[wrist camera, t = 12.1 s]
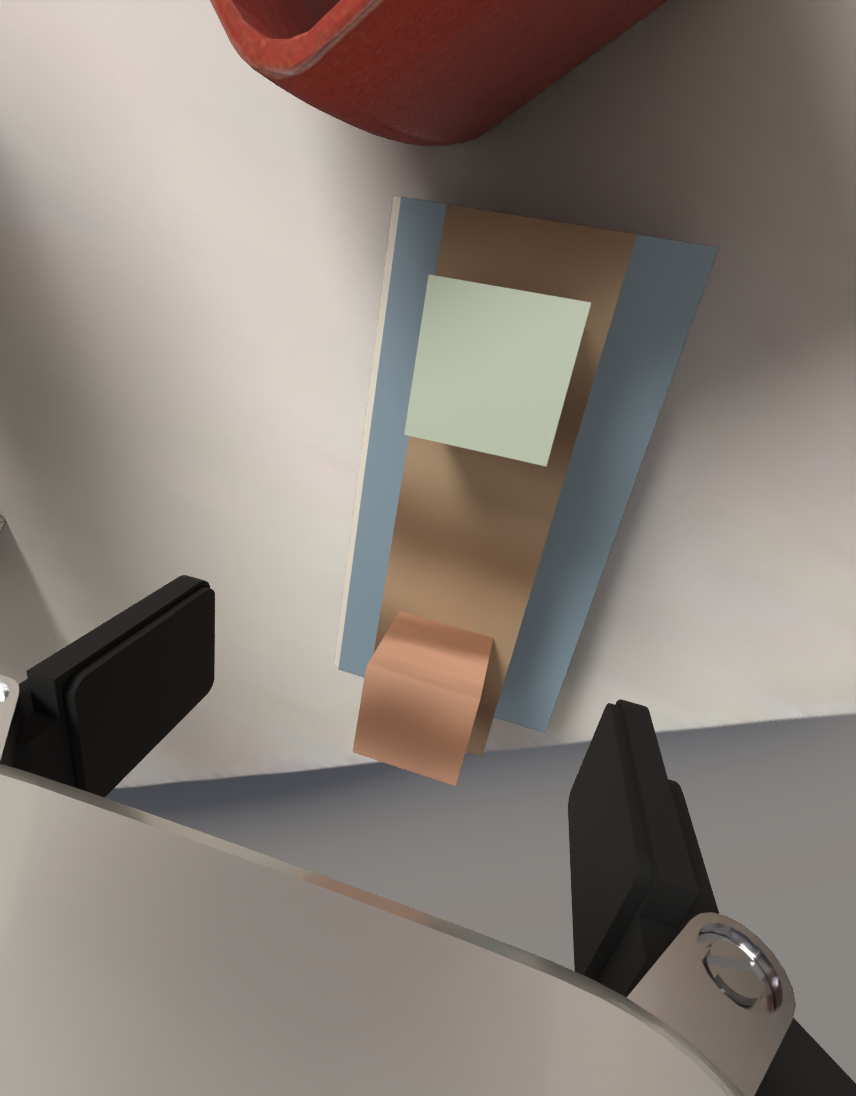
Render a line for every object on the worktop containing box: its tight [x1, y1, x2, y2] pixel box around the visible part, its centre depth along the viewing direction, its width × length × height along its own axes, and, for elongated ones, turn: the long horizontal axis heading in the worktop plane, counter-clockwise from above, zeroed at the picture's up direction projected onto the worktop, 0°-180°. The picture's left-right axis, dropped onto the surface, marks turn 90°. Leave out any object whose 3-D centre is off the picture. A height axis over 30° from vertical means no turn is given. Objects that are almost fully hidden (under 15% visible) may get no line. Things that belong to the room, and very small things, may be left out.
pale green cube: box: [404, 275, 591, 466], centre depth 17 cm, size 4×4×4 cm
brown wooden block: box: [374, 204, 637, 756], centre depth 23 cm, size 23×6×4 cm, turn 169°
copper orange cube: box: [353, 611, 493, 786], centre depth 22 cm, size 4×4×4 cm
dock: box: [334, 197, 719, 733], centre depth 27 cm, size 25×13×4 cm, turn 169°
